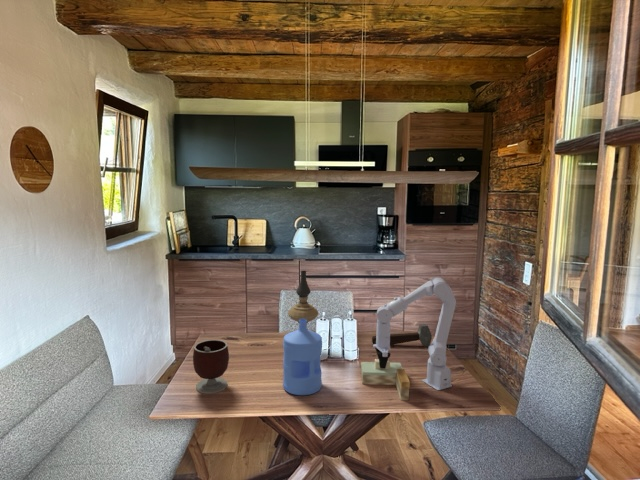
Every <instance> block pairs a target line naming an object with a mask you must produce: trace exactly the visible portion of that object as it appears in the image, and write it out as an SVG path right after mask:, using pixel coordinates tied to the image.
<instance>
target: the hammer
mask: <svg viewBox="0 0 640 480" xmlns="http://www.w3.org/2000/svg"><path fill="white" fill-rule="evenodd" d="M432 338H433V337H432V332H431V329H430V327H429V326H428V324H427V323H421V324H419V326H418V329H417V332H410V333H409V332H407V333H390V346H392V345H399V344H404V343H410V342H416V341H419V342H420V343H421V345H422V346H423V347H424V348H429V346H430V345H431V344H432V340H433V339H432ZM371 343H372V345H373V344H376V335H373V336H372V337H371Z"/></svg>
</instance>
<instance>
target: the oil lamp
mask: <svg viewBox="0 0 640 480" xmlns="http://www.w3.org/2000/svg"><path fill="white" fill-rule="evenodd" d="M295 291H296V292H295V293H296V294H297V295H298V301H295V304H294V305H293V306H292V307H291V308H290V309H289V310H288V311H287V315H288V317H289V318H290V319H291V320H293V321H294V322H297V323H298V324H299V320H300V319H306V320H307V322H306V323H307V324H308V323H309V322H311V321H314V320H315V319H316V318H317V317H318V316H319V314H320V313H319V311H318V309H317V308H316V307H315V306H314V305H313V304H311V303H309V302H308V298H309V295H310V294H311V291H312V290H311V289H310V287H309V285H308V281H307V271H306V270H301V271H300V281H299V285H298V286H297V289H296V290H295ZM307 330H309V329H308V328H307Z"/></svg>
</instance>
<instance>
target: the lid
mask: <svg viewBox="0 0 640 480" xmlns="http://www.w3.org/2000/svg"><path fill="white" fill-rule="evenodd" d="M361 367H362V373H363V375H385V376H396V373H397V369H404V368H403V366H402V364H401V362H391V361H390V358H388V361H387V364H386V368H380V364H379V359H378V358H375V359H374V361H360V368H361Z"/></svg>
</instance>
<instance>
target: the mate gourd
mask: <svg viewBox="0 0 640 480" xmlns="http://www.w3.org/2000/svg"><path fill="white" fill-rule="evenodd" d="M229 362H230V352H229V347H228V343H227V342H226V341H225V340H221V339H207V340H202V341H199V342H198V343H196V344H194V347H193V351H192V364H193V369H194V372H195V373H196V374H197V376H199V377H200V379H201V380H200V381H199V382H197V383H196V386H195V389H196V391H197V392H198V393H200V394H207V395H211V394H217V393H220V392H222V391H224V390H225V389H226V388H227V387H228V381H227V380H226V379H225V378H221V377H222V376H223V375H224V374H225V372H226V371H227V370H228V367H229Z"/></svg>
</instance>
